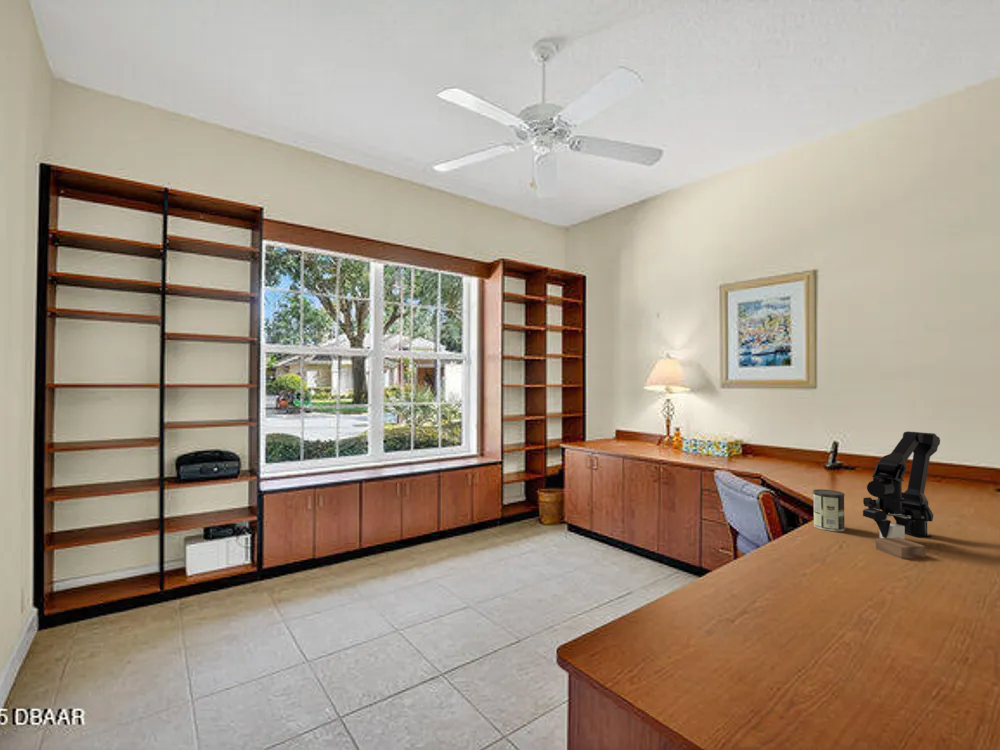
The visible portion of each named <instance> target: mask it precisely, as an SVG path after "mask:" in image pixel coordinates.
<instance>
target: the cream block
mask: <svg viewBox="0 0 1000 750" xmlns="http://www.w3.org/2000/svg"><path fill="white" fill-rule="evenodd" d="M878 529H879V528H878ZM905 534H906V533H905V526H902V525H899V524H896V522H892V521H891V523H890V527H889V531H888V535H887V537H886V538H895V537H899V538H902V539H905V538H906V536H905ZM879 538H884V537H883V536H882V534H881V532H880V529H879ZM905 540H906V539H905Z"/></svg>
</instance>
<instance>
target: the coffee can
mask: <svg viewBox="0 0 1000 750" xmlns="http://www.w3.org/2000/svg"><path fill="white" fill-rule="evenodd" d="M812 493H813V495H812V496H813V527H815V528H817V529H820V530H823V531H827V530H828V531H829V532H845V530H846V529H845V525H846V524H845V493H844V492H842V491H839V490H831V489H822V488H819V489H813V490H812ZM828 531H827V532H828Z"/></svg>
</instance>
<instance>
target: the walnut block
mask: <svg viewBox="0 0 1000 750" xmlns="http://www.w3.org/2000/svg"><path fill="white" fill-rule="evenodd" d="M875 550H877V551H879V552H882V553H884V554H888V555H890V556H893V557H896V558H898V559H901V560H902V559H903V560H905V559H919V558H921V559H922V558H926V545H923V544H920V543H916V542H914V541H910V540H908V539H902V538H899V537H895V538H880V537H879V538H878V537H877V538H876V537H875Z"/></svg>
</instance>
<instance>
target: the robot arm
mask: <svg viewBox="0 0 1000 750" xmlns="http://www.w3.org/2000/svg"><path fill="white" fill-rule="evenodd" d="M940 445H941V439H940V437H939V436H938V435H937V433H932V432H923V431H921V432H918V431H904V432H903V433H902V438H901V439H900V440H899V442H898V443H897V444H896V446H895V447H894V448H893V450H892V451H891V452H890V453H889V454H886V455H883V456H882V457H881V458H880V459H879V460H878V462H877V463H876V465H875V467H874V468H875V469H874V471H873V474H872V480H871V481H869V482H868V483H867V485H866V490H867V492H868V494H870V496H873V497H874V498H877V499H873V498H872V497H869V496H868V497H863V500H862V502H863V505H864V507H867V508H864V509H863V510H862V517H864V518H865V517H866V518H869V519H871V520H873V521H874V522H875V523H876V525H877V526H878V529H880V531H879V533H880V532H881V534H882V536H883V537H884V538H886V537H887V535H888V531H889V527H890V523H891V522H892V521H891V520H889V519H888V517H893V519H894V520H895V523H896V524H899V525H902V526H905V534H907V535H910V536H913V537H917V538H925V537H926V538H927V537H932V534H931V533H930V534H929V533H928V522H933V521H934V520H933V519H934V513H933V512H932V510H931V508H930V507H929V500H928V498H927V497H926V495H925V489H926V483H927V479H928V471H929V466H930V459H931V457H932V456H933V455H934V454H935V453H936V452H938V448H939V446H940ZM912 454H913V455H912ZM911 455H912V462H911V467H910V473H909V478H908V484H907V489H906V490H905V491H903V489H902V488H903V487H902V485H903V483H902V482H905V481H904V479H903V478H904V476H905V474H906V473H907V469H908V467H907V464H906V462H907V461H908V459H909V458H910V457H911ZM902 491H903V492H902Z"/></svg>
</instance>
